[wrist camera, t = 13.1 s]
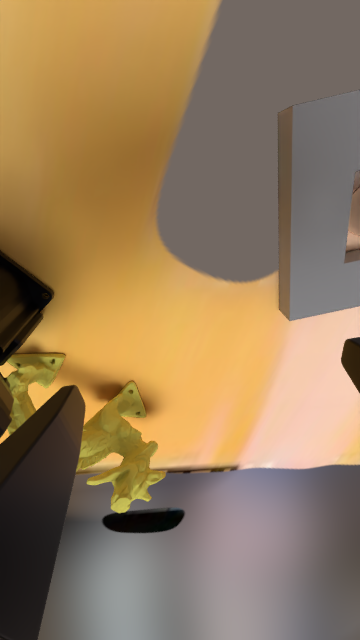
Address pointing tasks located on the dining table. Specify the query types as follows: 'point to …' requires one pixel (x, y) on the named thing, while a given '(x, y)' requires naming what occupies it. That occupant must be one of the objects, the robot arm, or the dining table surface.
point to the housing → (317, 205)
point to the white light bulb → (355, 213)
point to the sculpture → (94, 429)
